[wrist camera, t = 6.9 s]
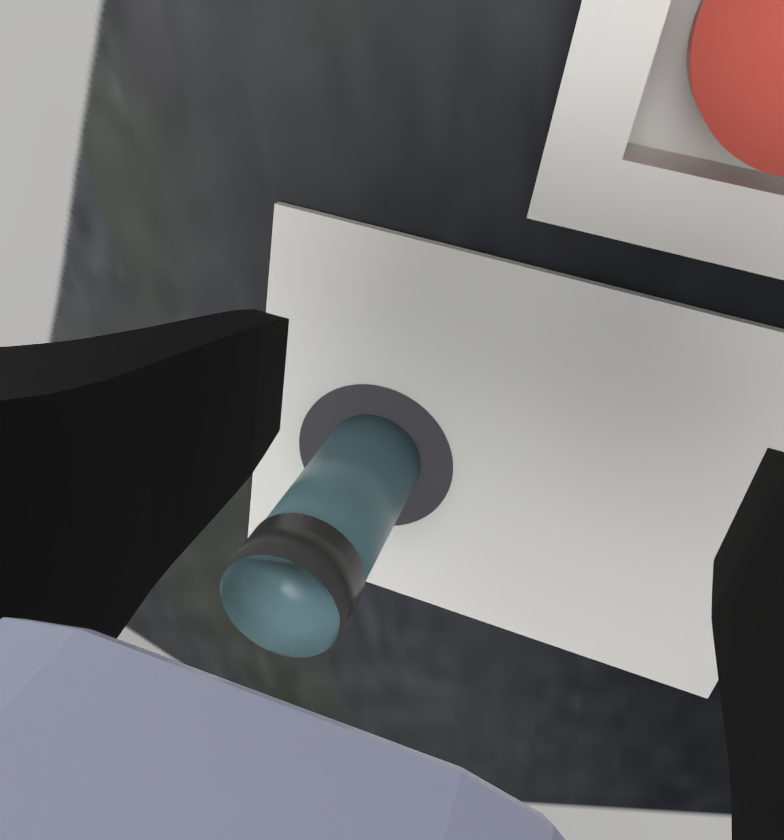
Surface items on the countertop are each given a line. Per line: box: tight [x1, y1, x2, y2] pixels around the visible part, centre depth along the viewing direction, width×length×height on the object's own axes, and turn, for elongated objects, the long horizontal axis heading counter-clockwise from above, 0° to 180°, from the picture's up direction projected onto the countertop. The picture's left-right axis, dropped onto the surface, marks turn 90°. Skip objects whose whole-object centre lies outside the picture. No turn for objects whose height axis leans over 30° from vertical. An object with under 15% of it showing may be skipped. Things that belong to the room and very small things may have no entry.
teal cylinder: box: [218, 414, 421, 659], centre depth 20 cm, size 3×3×7 cm
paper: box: [248, 201, 784, 699], centre depth 22 cm, size 16×12×1 cm
